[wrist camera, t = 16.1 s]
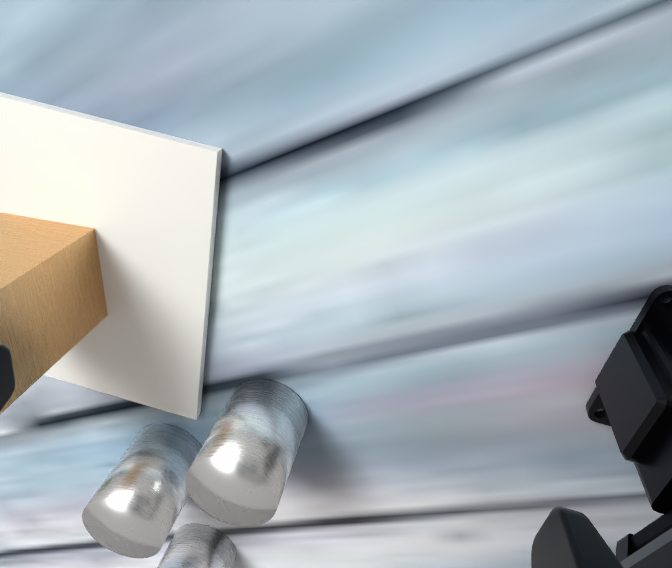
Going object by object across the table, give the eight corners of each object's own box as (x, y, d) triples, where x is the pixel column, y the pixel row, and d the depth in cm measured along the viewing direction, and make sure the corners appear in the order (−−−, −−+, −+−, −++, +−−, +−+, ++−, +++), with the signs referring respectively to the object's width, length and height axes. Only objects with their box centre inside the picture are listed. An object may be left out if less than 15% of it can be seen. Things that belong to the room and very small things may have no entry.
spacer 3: (320, 402, 25) (290, 486, 21) (292, 452, 27) (260, 538, 23) (243, 366, 25) (198, 444, 21) (221, 419, 27) (176, 500, 23)
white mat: (222, 148, 20) (217, 152, 20) (200, 413, 27) (196, 420, 27) (-64, 75, 21) (-75, 77, 21) (-13, 350, 28) (-21, 356, 28)
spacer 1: (207, 435, 28) (162, 515, 24) (203, 485, 30) (161, 567, 26) (137, 414, 28) (79, 490, 24) (137, 465, 30) (84, 543, 26)
